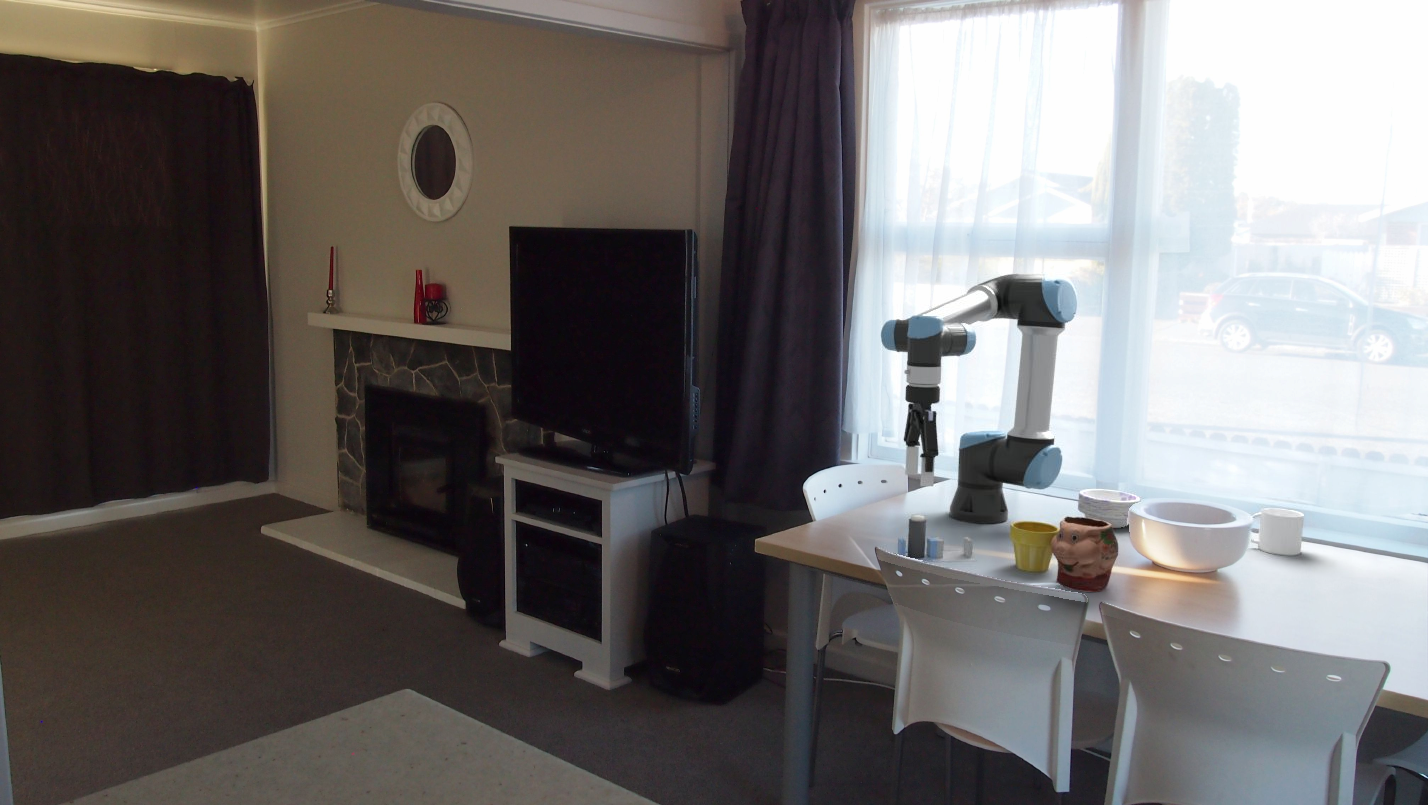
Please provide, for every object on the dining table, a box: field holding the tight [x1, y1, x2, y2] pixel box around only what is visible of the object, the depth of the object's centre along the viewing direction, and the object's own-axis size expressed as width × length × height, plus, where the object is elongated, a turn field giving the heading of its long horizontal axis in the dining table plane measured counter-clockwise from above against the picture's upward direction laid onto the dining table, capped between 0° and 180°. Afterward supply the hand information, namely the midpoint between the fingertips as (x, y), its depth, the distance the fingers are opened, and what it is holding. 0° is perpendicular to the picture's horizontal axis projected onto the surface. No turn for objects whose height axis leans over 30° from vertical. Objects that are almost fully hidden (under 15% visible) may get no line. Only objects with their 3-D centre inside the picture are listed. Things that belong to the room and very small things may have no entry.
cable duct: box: [893, 536, 977, 563], centre depth 233 cm, size 17×8×4 cm, turn 95°
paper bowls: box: [1077, 488, 1142, 529], centre depth 267 cm, size 15×15×8 cm
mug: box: [1250, 507, 1305, 557], centre depth 244 cm, size 12×9×9 cm
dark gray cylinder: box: [907, 514, 927, 559], centre depth 232 cm, size 4×4×9 cm
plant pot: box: [1009, 520, 1060, 573], centre depth 225 cm, size 10×10×10 cm
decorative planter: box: [1051, 516, 1119, 593], centre depth 215 cm, size 20×12×14 cm, turn 135°
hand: (918, 480), depth 230 cm, fingers open, 12 cm apart
